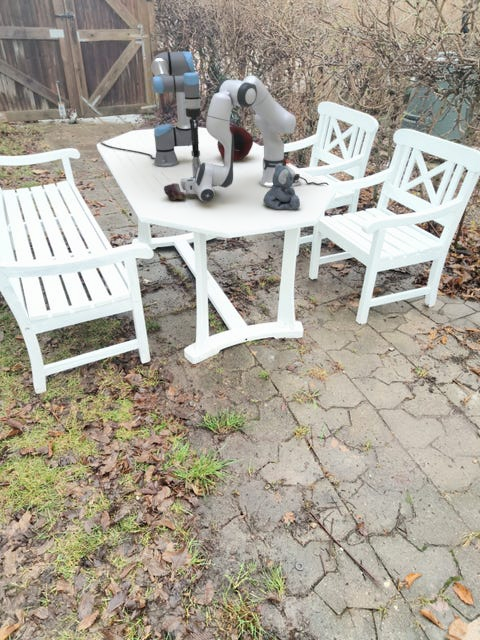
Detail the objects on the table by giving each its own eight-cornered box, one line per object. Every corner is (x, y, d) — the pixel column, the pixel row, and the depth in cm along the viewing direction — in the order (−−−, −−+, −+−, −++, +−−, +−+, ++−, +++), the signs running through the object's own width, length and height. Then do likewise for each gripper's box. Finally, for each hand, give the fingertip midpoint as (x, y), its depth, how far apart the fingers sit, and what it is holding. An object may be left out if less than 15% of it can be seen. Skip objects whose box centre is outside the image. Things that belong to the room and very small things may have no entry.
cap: (201, 155, 239) (201, 151, 238) (195, 157, 237) (195, 152, 235) (196, 153, 242) (195, 149, 241) (189, 155, 239) (189, 151, 238)
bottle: (203, 190, 249) (201, 153, 238) (196, 192, 247) (194, 154, 236) (199, 188, 253) (197, 151, 241) (192, 190, 250) (189, 152, 239)
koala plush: (301, 210, 223) (303, 170, 212) (265, 211, 222) (266, 171, 211) (294, 198, 237) (297, 160, 226) (261, 199, 236) (261, 161, 225)
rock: (179, 196, 245) (162, 199, 241) (177, 180, 241) (160, 182, 237) (187, 199, 235) (169, 202, 231) (185, 182, 232) (167, 185, 228)
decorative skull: (214, 132, 306) (214, 129, 283) (248, 124, 306) (250, 120, 282) (221, 164, 313) (221, 164, 290) (254, 156, 312) (257, 156, 289)
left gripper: (183, 105, 233) (187, 151, 246) (187, 111, 218) (190, 160, 232) (198, 104, 234) (200, 151, 247) (202, 110, 219) (204, 159, 233)
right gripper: (220, 178, 236) (215, 170, 247) (182, 181, 232) (178, 173, 243) (221, 190, 240) (215, 182, 251) (183, 193, 236) (179, 185, 247)
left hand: (195, 155), depth 239 cm, fingers closed on cap, 5 cm apart
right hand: (196, 178), depth 247 cm, fingers closed on bottle, 5 cm apart
